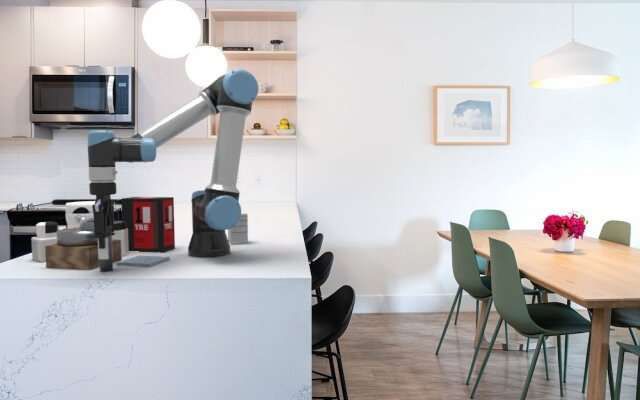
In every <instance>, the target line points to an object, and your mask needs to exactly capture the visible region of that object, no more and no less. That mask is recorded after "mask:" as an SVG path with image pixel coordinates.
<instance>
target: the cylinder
mask: <svg viewBox="0 0 640 400" xmlns="http://www.w3.org/2000/svg"><path fill="white" fill-rule="evenodd" d="M106 238H108V257H109V259H100V267H99V272H101V273H108V272H109V273H110V272H112V271H114V268H113V267H114V266H113V265H114V263H113V261H112V234H111V225H107V237H106Z"/></svg>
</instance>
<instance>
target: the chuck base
mask: <svg viewBox="0 0 640 400" xmlns="http://www.w3.org/2000/svg"><path fill="white" fill-rule="evenodd" d="M45 252H46V262H45V267H46V268H47V269H48V268H49V269H63V268H67V270H68V269H69V270H82V269H84V270H85V271H87V270H89V271H90V269H91V270H93V269H94V270H95V269H97V268H100V259H99V258H98V244H94V245H83V246H62V245H58V244H57V243H56V244H52V245H47V246H45ZM112 253H113V256H112V261H113V262H114V263H117V262H119V260H120V261H122V256H121V240H112ZM116 261H117V262H116Z"/></svg>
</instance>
